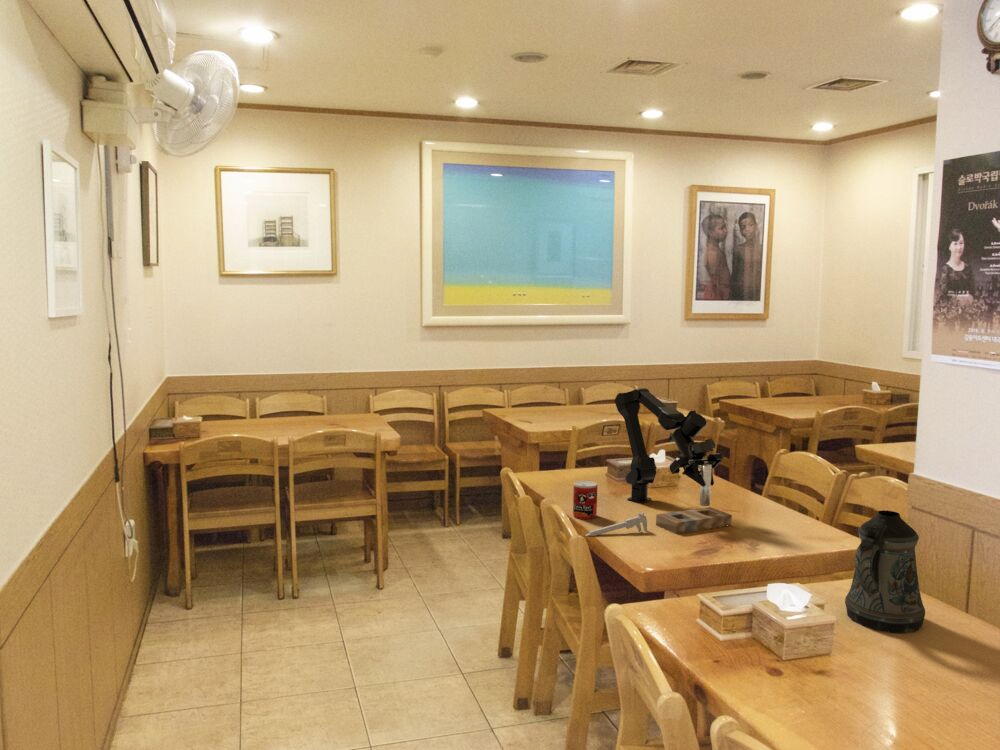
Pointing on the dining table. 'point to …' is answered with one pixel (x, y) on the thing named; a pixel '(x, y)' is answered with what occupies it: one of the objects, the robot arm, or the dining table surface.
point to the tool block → (693, 520)
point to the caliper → (622, 525)
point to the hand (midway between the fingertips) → (708, 485)
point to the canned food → (585, 499)
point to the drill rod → (706, 489)
